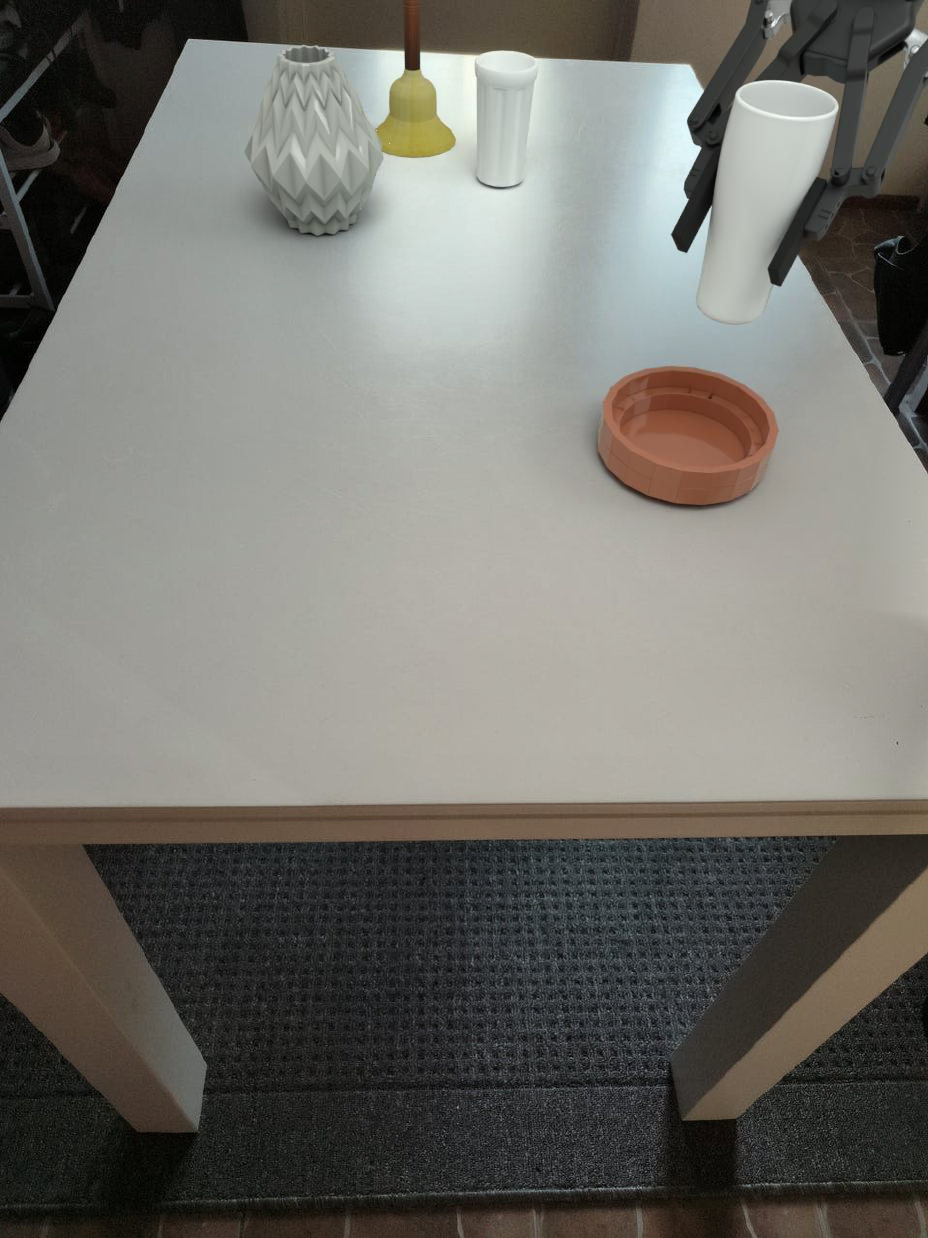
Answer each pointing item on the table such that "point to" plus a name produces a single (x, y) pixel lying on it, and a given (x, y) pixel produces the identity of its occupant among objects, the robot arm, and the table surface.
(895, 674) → the table surface
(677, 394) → the bowl
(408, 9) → the handbell
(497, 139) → the cup
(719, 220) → the drinking glass
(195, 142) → the table surface
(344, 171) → the vase
